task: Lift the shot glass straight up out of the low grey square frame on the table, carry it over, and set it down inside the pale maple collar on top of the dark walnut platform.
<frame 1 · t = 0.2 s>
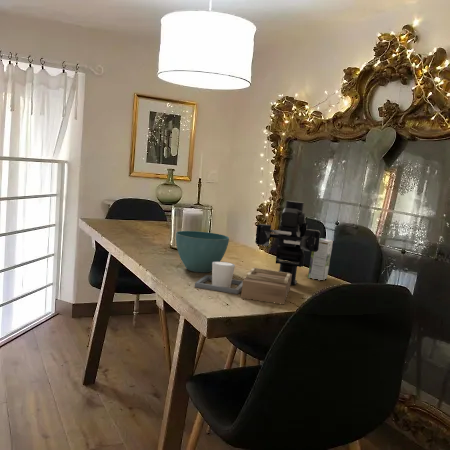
hand: (284, 241, 136), 17 cm above the table, tool horizontal, fingers open, 9 cm apart
grey square frame: (221, 285, 147), on the table
shot glass: (220, 286, 147), resting in grey square frame
teal round bowl: (198, 270, 167), on the table
syrup box: (317, 279, 175), on the table
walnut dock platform: (266, 293, 144), on the table
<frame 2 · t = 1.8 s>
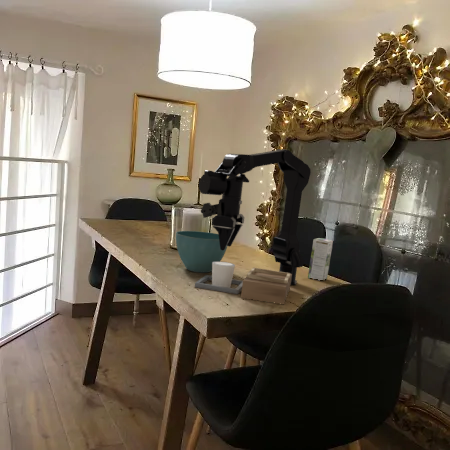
hand: (225, 248, 145), 12 cm above the table, tool pointing down, fingers open, 9 cm apart
nothing on the table moved.
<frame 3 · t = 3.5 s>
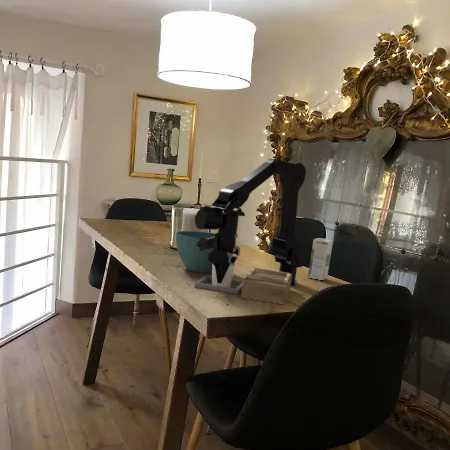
hand: (221, 281, 146), 2 cm above the table, tool pointing down, fingers closed on shot glass, 6 cm apart
shot glass: (220, 286, 147), resting in grey square frame, touching gripper
everything else where it was.
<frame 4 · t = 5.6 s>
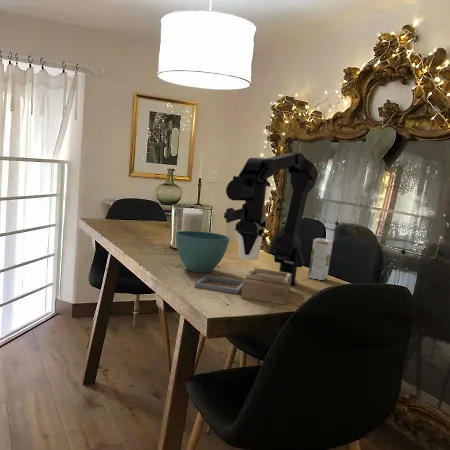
hand: (249, 253, 144), 11 cm above the table, tool pointing down, fingers closed on shot glass, 6 cm apart
shot glass: (248, 258, 144), point 9 cm above the table, touching gripper
everything else where it was.
when the fingers open (8 cm above the table, at t = 7.5 s): shot glass drops 1 cm, resting on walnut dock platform.
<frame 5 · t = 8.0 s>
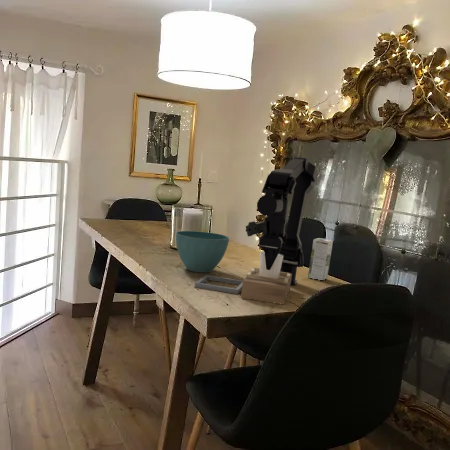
hand: (270, 267, 143), 8 cm above the table, tool pointing down, fingers open, 9 cm apart
shot glass: (268, 277, 143), point 5 cm above the table, touching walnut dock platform
everything else where it was.
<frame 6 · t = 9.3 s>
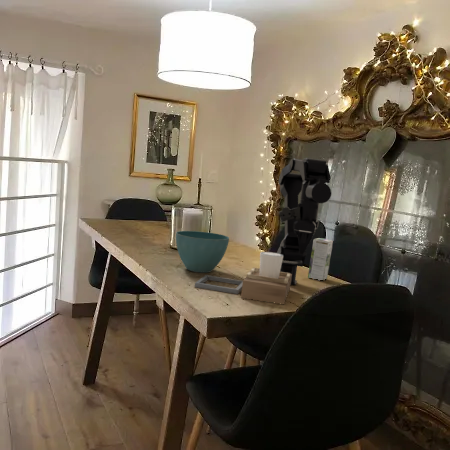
hand: (302, 251, 147), 13 cm above the table, tool pointing down, fingers open, 9 cm apart
nothing on the table moved.
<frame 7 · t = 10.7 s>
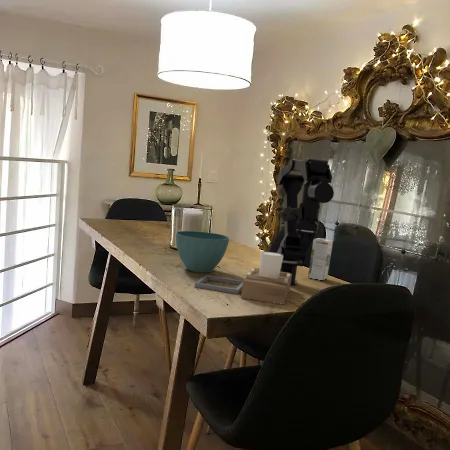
hand: (304, 251, 147), 13 cm above the table, tool pointing down, fingers open, 9 cm apart
nothing on the table moved.
at the end: shot glass 0.1 cm off-centre on the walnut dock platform, point 4.8 cm above the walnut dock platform's base; shot glass tilted 0°; the gripper is holding nothing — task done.
